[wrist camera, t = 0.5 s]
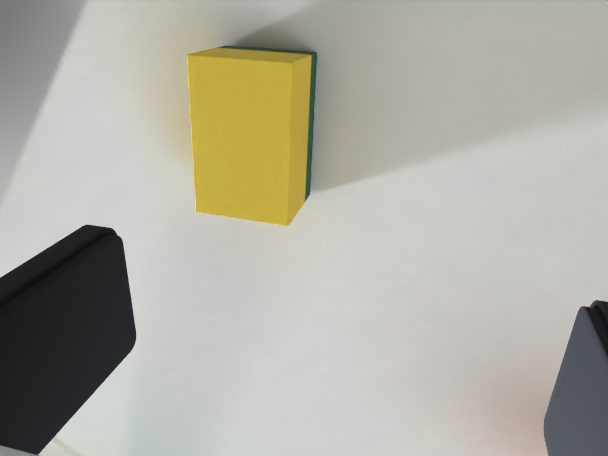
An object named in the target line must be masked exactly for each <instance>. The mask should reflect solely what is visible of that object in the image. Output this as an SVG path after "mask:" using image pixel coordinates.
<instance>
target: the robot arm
mask: <svg viewBox="0 0 608 456" xmlns="http://www.w3.org/2000/svg"><path fill="white" fill-rule="evenodd" d="M135 341H136V329H135V323H134V316H133V309H132V302H131V295H130V288H129V281H128V274H127V268H126V261H125V254H124V247H123V242H122V239H121V237H119V236H117V234H116V232H115V230H113V229H112V228H107V227H100V226H93V225H85V226H83V227H81V228H79V229H78V230H76V231H75V232H73V233H71V234H70V235H68V236H67V237H65V238H63V239H62V240H60V241H59V242H57V243H55V244H54V245H52V246H51V247H49V248H47V249H46V250H44V251H43V252H41V253H39V254H38V255H36V256H35V257H33V258H31V259H30V260H28V261H27V262H25V263H23V264H22V265H20V266H19V267H17V268H15V269H14V270H12V271H11V272H9V273H7V274H6V275H4V276H3V277H1V278H0V456H38V454H39V453H40V452H41V451H42V450H43V449H44V447H45V446H46V445H47V444H48V443H49V442H50V441H51V440H52V439H53V437H54V436H55V435H56V434H57V433H58V432H59V431H60V430H61V428H62V427H63V426H64V425H65V424H66V423H67V422H68V421H69V420H70V418H71V417H72V416H73V415H74V414H75V413H76V412H77V411H78V410H79V408H80V407H81V406H82V405H83V404H84V403H85V402H86V401H87V400H88V398H89V397H90V396H91V395H92V394H93V393H94V392H95V391H96V389H97V388H98V387H99V386H100V385H101V384H102V383H103V382H104V381H105V379H106V378H107V377H108V376H109V375H110V374H111V373H112V372H113V371H114V369H115V368H116V367H117V366H118V365H119V364H120V363H121V362H122V360H123V359H124V358H125V357H126V356H127V355H128V354H129V353H130V352H131V350H132V349H133V347H134V345H135ZM544 437H545V442H546V446H547V451H548V455H549V456H608V302H605V301H598V300H596V301H594V302H593V303H592V304H591V306H590V307H585V306H582V307H581V308H580V309H579V311H578V314H577V317H576V320H575V323H574V326H573V329H572V332H571V336H570V339H569V342H568V345H567V348H566V352H565V355H564V358H563V361H562V364H561V367H560V371H559V374H558V377H557V380H556V383H555V386H554V390H553V393H552V396H551V399H550V402H549V406H548V409H547V412H546V415H545V420H544Z"/></svg>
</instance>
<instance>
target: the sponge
mask: <svg viewBox="0 0 608 456" xmlns="http://www.w3.org/2000/svg"><path fill="white" fill-rule="evenodd" d="M316 61H317V53H316V52H304V51H291V50H277V49H263V48H250V47H236V46H222V47H218V48H213V49H209V50H204V51H200V52H195V53H191V54H187V66H188V84H189V101H190V118H191V136H192V153H193V171H194V188H195V205H196V212H199V213H206V214H212V215H219V216H226V217H232V218H239V219H245V220H252V221H259V222H265V223H272V224H278V225H285V226H288V225H289V224H290V222H291V221H292V219H293V218H294V217H295V215H296V214H297V212H298V211H299V209H300V208H301V207H302V205H303V204H304V202H305V201H306V199H307V198H308V196H309V195H310V180H311V160H312V140H313V120H314V101H315V81H316Z"/></svg>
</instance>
